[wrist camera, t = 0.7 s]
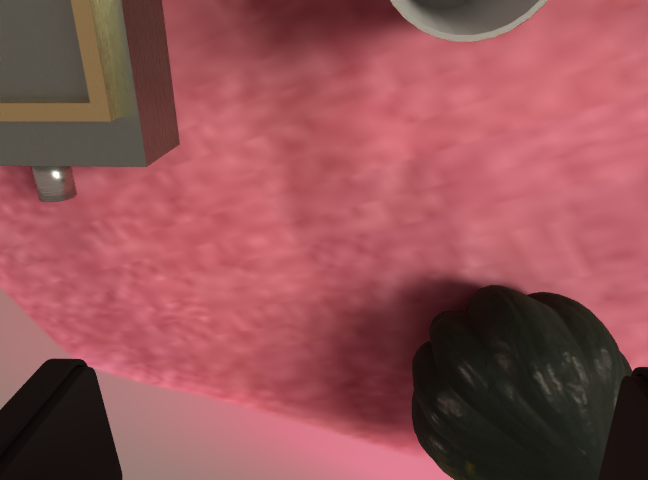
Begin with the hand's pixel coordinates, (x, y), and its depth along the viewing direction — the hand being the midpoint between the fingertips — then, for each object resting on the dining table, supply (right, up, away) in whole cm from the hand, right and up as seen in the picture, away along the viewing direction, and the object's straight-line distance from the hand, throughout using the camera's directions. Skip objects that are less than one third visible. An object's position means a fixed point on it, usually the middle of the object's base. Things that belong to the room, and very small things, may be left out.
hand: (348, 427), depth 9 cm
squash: (+13, -5, +32) cm, 35 cm away
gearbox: (-17, +16, +25) cm, 35 cm away
